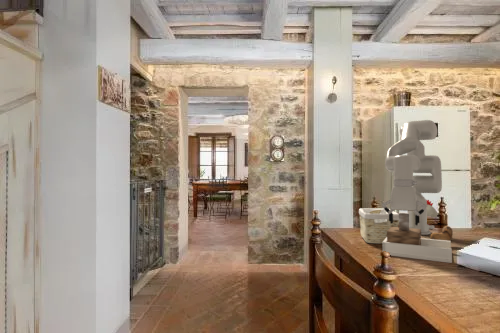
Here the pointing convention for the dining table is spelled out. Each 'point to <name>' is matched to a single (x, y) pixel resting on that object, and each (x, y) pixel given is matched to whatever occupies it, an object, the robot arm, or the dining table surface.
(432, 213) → the kitchen timer
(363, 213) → the storage basket
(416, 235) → the tan block with peg
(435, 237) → the lion figurine
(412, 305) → the dining table surface
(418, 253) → the bay
